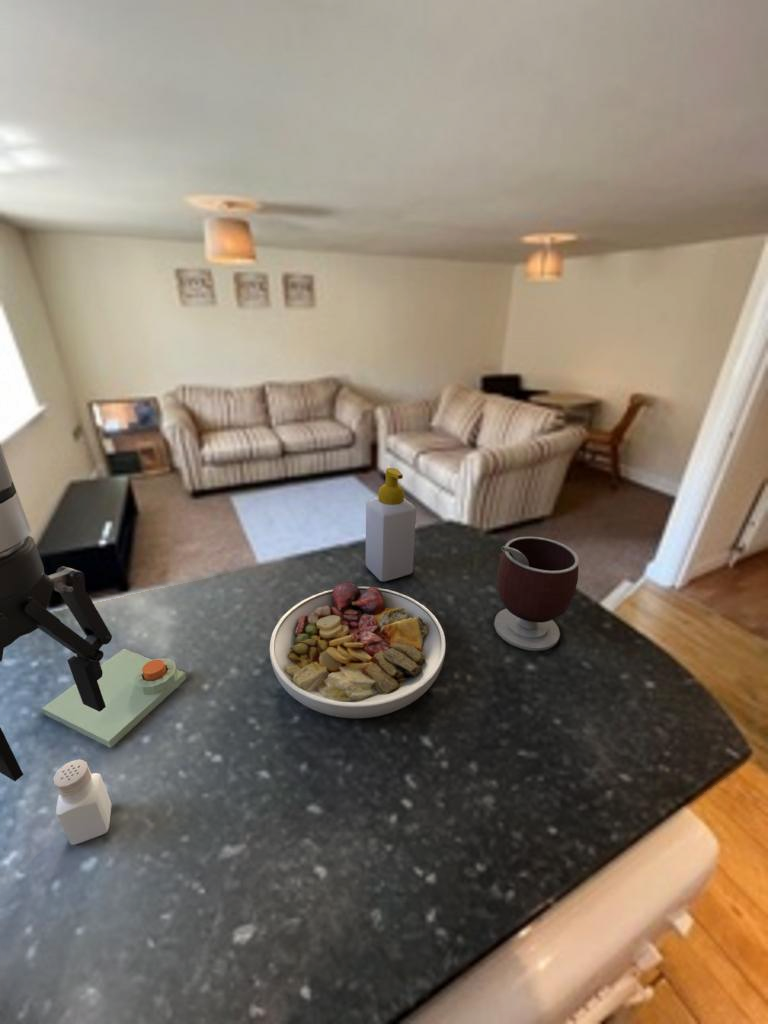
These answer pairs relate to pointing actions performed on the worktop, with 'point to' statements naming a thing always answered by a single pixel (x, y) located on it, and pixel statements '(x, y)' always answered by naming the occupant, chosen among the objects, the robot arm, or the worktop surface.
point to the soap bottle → (390, 530)
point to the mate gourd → (534, 590)
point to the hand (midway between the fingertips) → (55, 736)
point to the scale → (116, 698)
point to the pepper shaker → (81, 802)
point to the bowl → (357, 651)
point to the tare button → (154, 670)
